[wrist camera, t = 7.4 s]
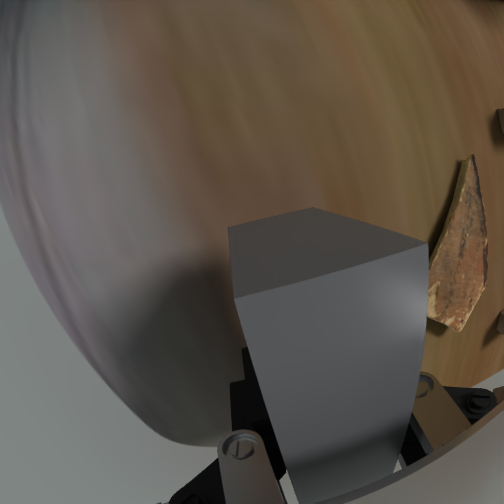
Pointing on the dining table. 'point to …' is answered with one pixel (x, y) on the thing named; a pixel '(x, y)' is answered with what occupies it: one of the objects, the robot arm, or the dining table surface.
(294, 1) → the dining table surface
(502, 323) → the walnut frame
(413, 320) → the block
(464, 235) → the shard
